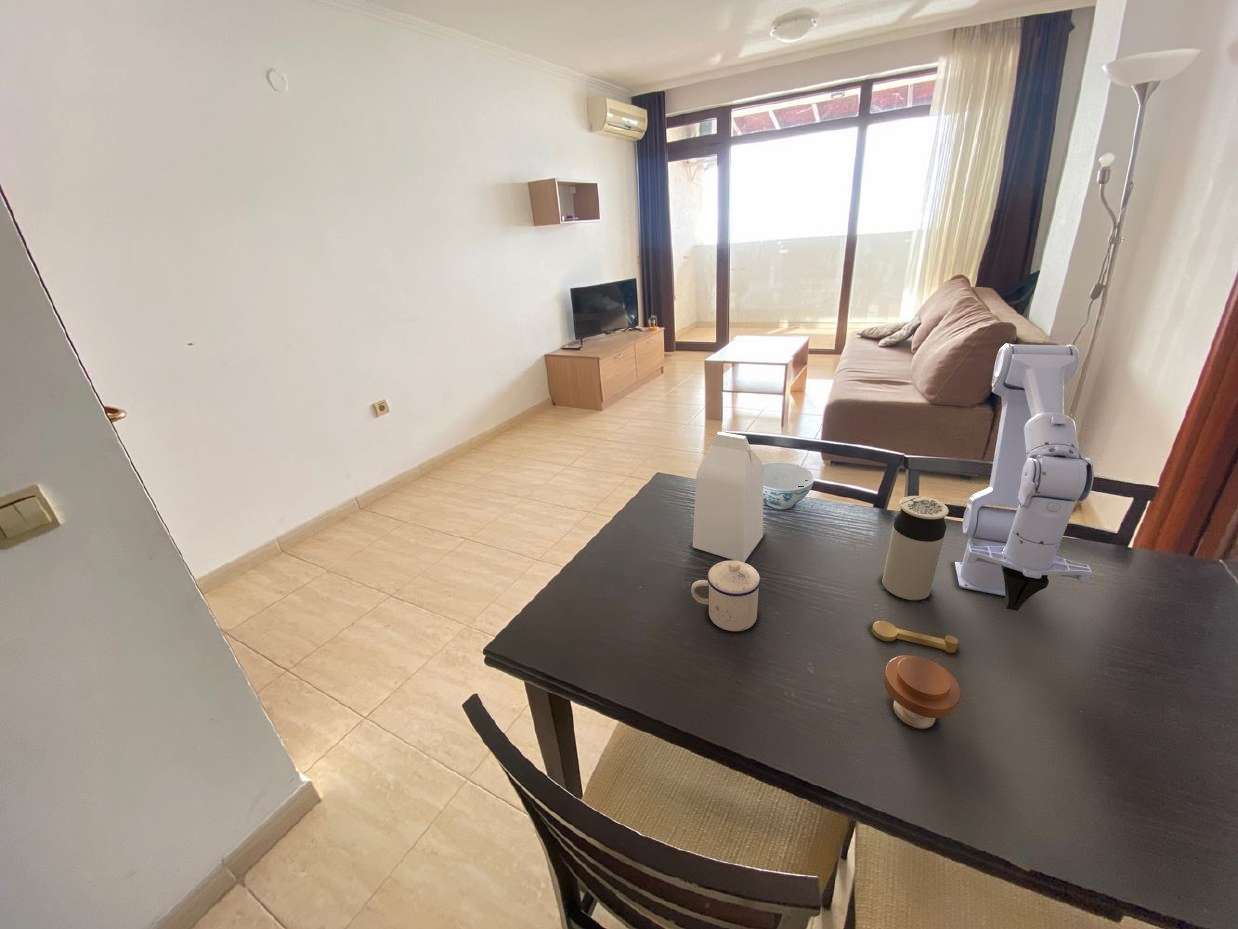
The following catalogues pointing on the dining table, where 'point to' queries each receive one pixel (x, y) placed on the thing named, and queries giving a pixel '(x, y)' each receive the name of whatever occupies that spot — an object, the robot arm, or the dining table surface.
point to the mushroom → (921, 690)
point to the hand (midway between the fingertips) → (1010, 605)
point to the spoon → (913, 636)
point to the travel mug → (915, 547)
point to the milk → (729, 499)
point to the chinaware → (785, 484)
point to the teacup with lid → (731, 595)
